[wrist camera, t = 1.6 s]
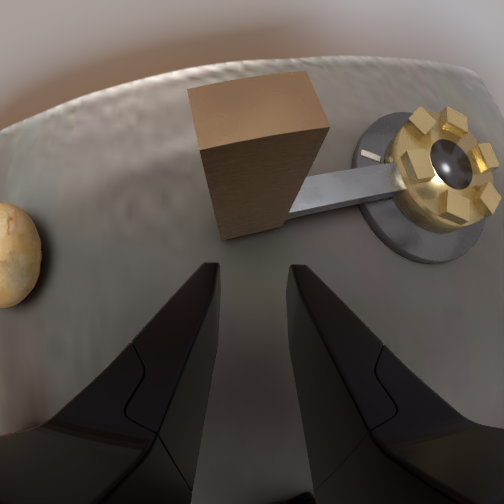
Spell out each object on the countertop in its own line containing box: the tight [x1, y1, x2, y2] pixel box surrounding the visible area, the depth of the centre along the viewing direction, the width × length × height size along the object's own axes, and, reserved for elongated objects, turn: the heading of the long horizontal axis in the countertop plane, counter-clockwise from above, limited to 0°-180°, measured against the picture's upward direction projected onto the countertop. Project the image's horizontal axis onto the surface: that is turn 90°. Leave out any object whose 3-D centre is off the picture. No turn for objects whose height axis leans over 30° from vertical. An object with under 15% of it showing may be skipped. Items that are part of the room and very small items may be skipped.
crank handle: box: [187, 71, 501, 241], centre depth 16 cm, size 22×9×12 cm, turn 104°
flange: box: [352, 112, 485, 264], centre depth 23 cm, size 13×13×2 cm
